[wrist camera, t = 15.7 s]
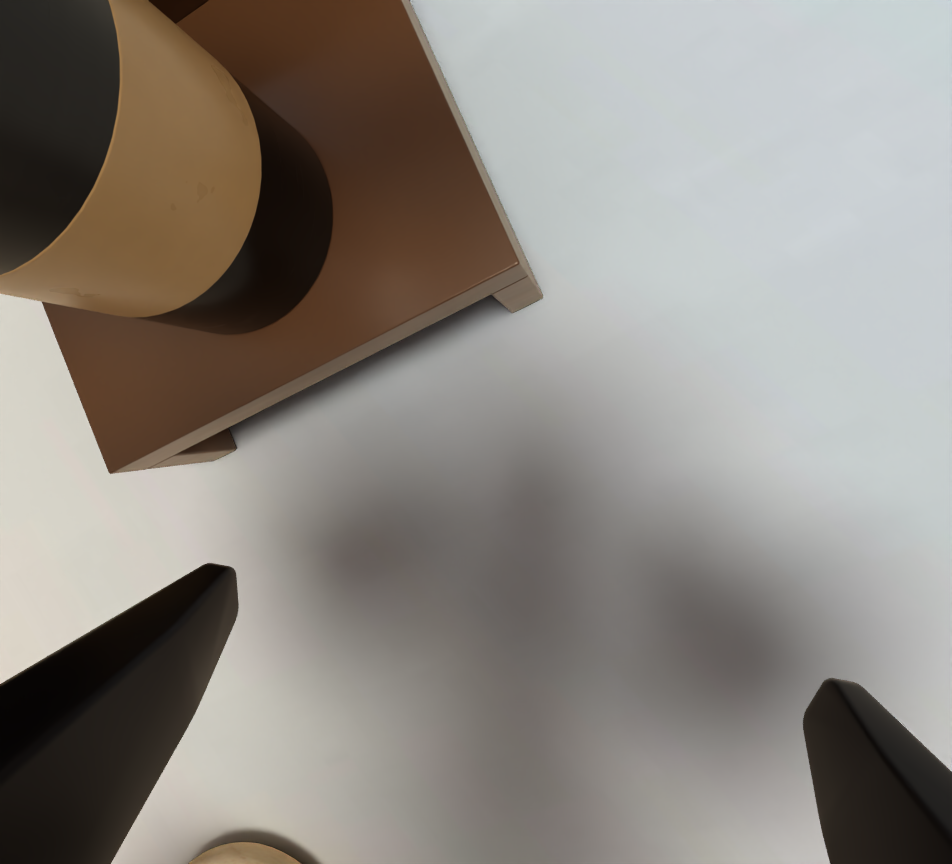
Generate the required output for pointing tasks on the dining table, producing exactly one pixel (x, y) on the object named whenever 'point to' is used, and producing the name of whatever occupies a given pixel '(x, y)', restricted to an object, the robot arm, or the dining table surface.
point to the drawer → (352, 238)
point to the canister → (148, 174)
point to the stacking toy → (244, 855)
